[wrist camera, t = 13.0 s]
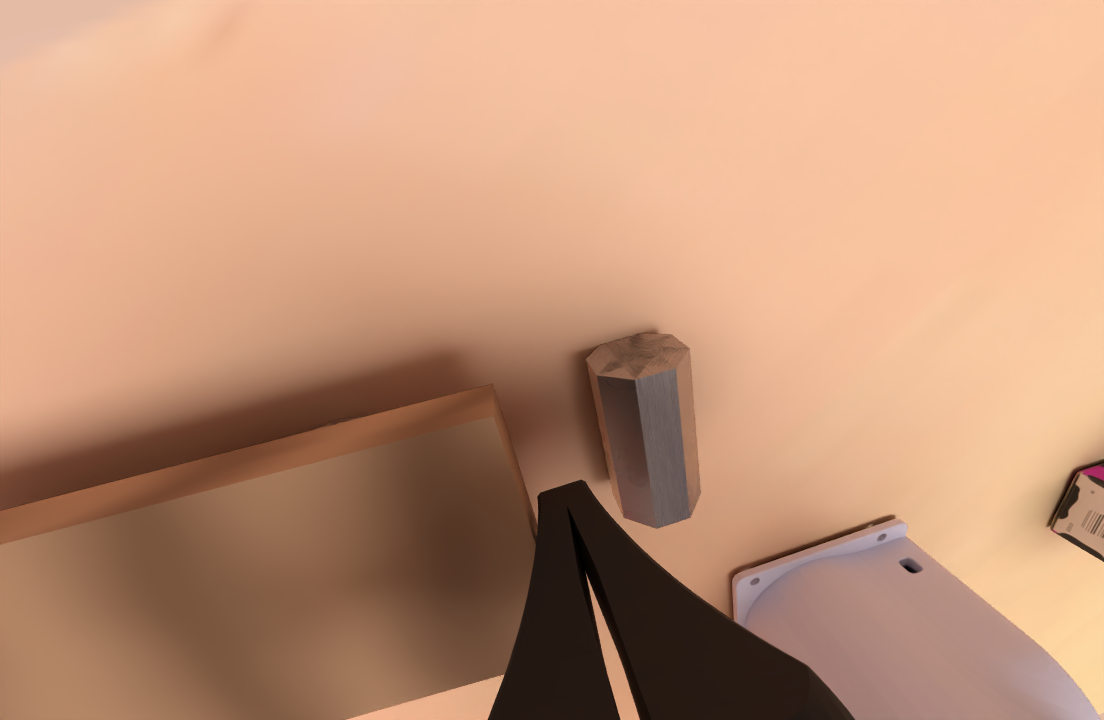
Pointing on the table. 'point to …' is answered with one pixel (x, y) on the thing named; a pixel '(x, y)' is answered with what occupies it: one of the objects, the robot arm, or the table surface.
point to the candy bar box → (1083, 512)
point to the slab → (275, 576)
